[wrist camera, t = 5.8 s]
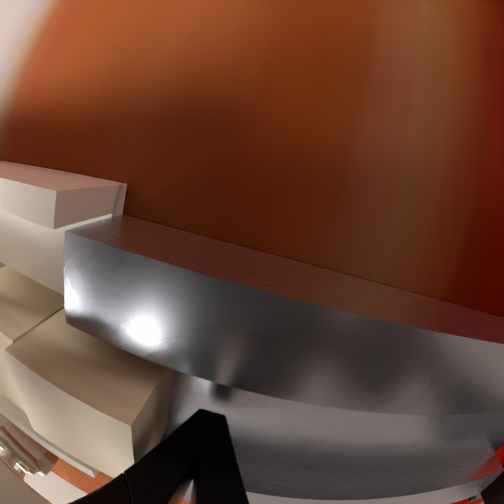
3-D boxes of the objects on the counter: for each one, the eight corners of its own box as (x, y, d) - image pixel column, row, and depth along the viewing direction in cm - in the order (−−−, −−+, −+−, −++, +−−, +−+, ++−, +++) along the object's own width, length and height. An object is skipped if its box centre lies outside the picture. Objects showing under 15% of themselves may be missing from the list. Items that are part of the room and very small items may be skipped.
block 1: (72, 299, 8) (12, 340, 5) (79, 376, 9) (38, 422, 6) (7, 265, 8) (-47, 289, 5) (17, 337, 9) (-25, 368, 6)
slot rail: (559, 333, 7) (587, 355, 4) (465, 466, 10) (477, 494, 7) (122, 214, 8) (64, 230, 5) (119, 426, 10) (95, 463, 8)
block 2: (176, 352, 8) (131, 426, 5) (167, 426, 8) (137, 488, 6) (66, 306, 8) (4, 349, 5) (75, 383, 9) (33, 429, 6)
